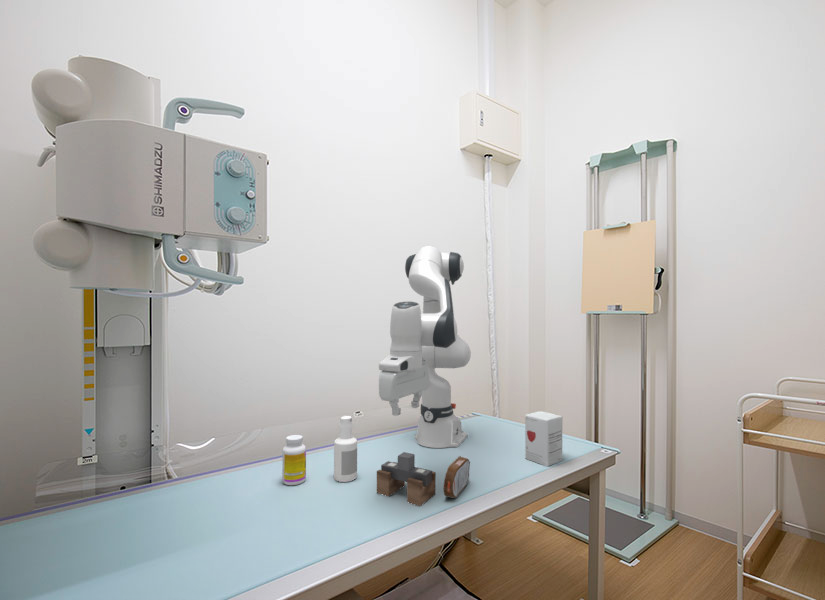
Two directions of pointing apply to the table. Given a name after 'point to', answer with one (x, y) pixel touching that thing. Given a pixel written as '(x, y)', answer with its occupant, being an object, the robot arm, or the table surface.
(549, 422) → the supplement box
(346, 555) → the table surface
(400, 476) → the power strip
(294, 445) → the supplement bottle
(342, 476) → the spray bottle
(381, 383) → the robot arm
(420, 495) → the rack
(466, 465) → the tin
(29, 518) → the table surface
